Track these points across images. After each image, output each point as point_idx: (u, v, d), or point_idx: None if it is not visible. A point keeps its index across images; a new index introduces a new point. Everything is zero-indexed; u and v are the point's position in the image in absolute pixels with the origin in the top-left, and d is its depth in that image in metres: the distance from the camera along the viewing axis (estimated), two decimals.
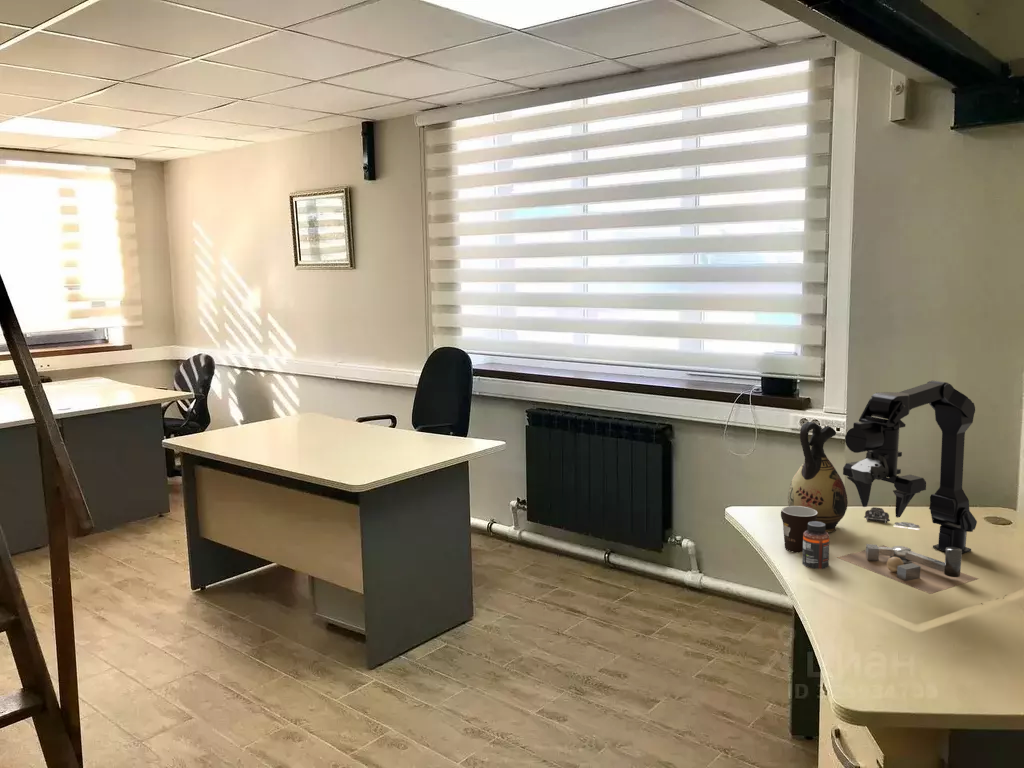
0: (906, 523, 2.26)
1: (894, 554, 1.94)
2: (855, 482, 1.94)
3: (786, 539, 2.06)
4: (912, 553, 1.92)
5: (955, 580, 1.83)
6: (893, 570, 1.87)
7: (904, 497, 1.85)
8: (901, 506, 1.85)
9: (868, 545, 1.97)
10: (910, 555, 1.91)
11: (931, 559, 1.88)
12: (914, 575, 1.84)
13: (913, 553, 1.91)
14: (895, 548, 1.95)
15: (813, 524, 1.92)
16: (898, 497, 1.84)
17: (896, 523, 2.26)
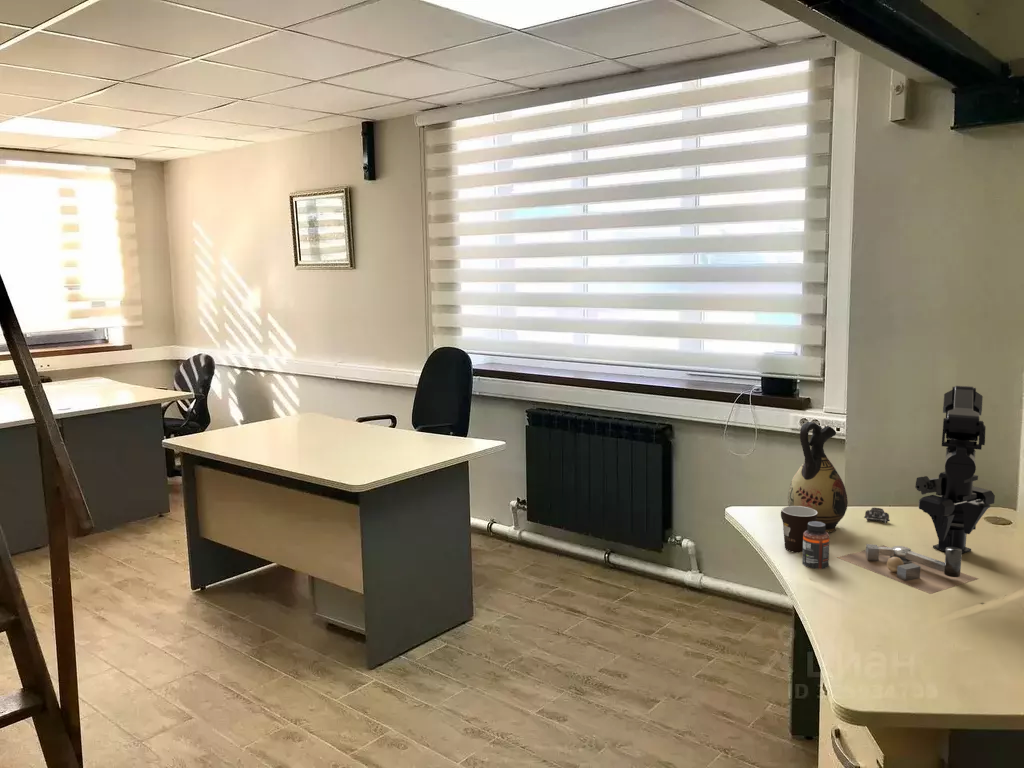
0: None
1: (894, 554, 1.94)
2: None
3: (786, 539, 2.06)
4: (912, 553, 1.92)
5: (955, 580, 1.83)
6: (893, 570, 1.87)
7: (940, 520, 1.78)
8: (936, 527, 1.79)
9: (868, 545, 1.97)
10: (910, 555, 1.91)
11: (931, 559, 1.88)
12: (914, 575, 1.84)
13: (913, 553, 1.91)
14: (895, 548, 1.95)
15: (813, 524, 1.92)
16: None
17: None
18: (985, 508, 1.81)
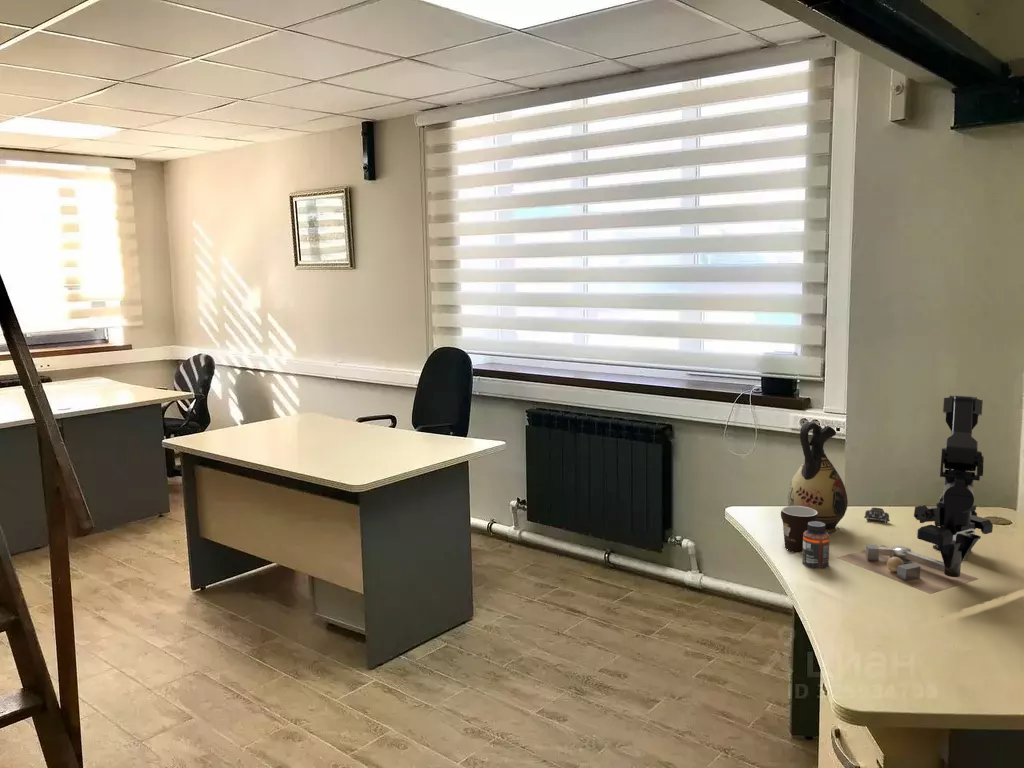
0: None
1: (894, 554, 1.94)
2: None
3: (786, 539, 2.06)
4: (912, 553, 1.92)
5: (955, 580, 1.83)
6: (893, 570, 1.87)
7: (946, 547, 1.81)
8: (943, 555, 1.82)
9: (868, 545, 1.97)
10: (910, 555, 1.91)
11: (931, 559, 1.88)
12: (914, 575, 1.84)
13: (913, 553, 1.91)
14: (895, 548, 1.95)
15: (813, 524, 1.92)
16: None
17: None
18: (975, 539, 1.81)
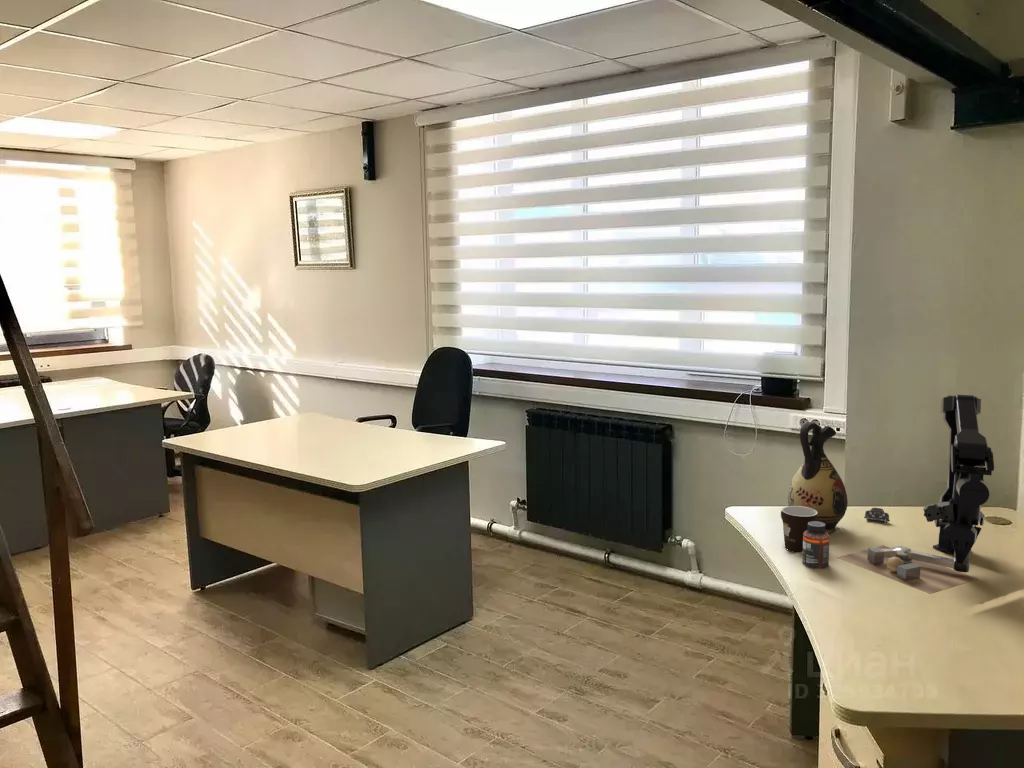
0: None
1: (897, 555, 1.93)
2: None
3: (786, 539, 2.06)
4: (915, 552, 1.92)
5: (955, 580, 1.83)
6: (893, 570, 1.87)
7: (962, 544, 1.83)
8: (957, 551, 1.83)
9: (871, 549, 1.94)
10: (914, 554, 1.92)
11: (936, 556, 1.89)
12: (914, 575, 1.84)
13: (915, 552, 1.92)
14: (895, 548, 1.94)
15: (813, 524, 1.92)
16: None
17: None
18: None
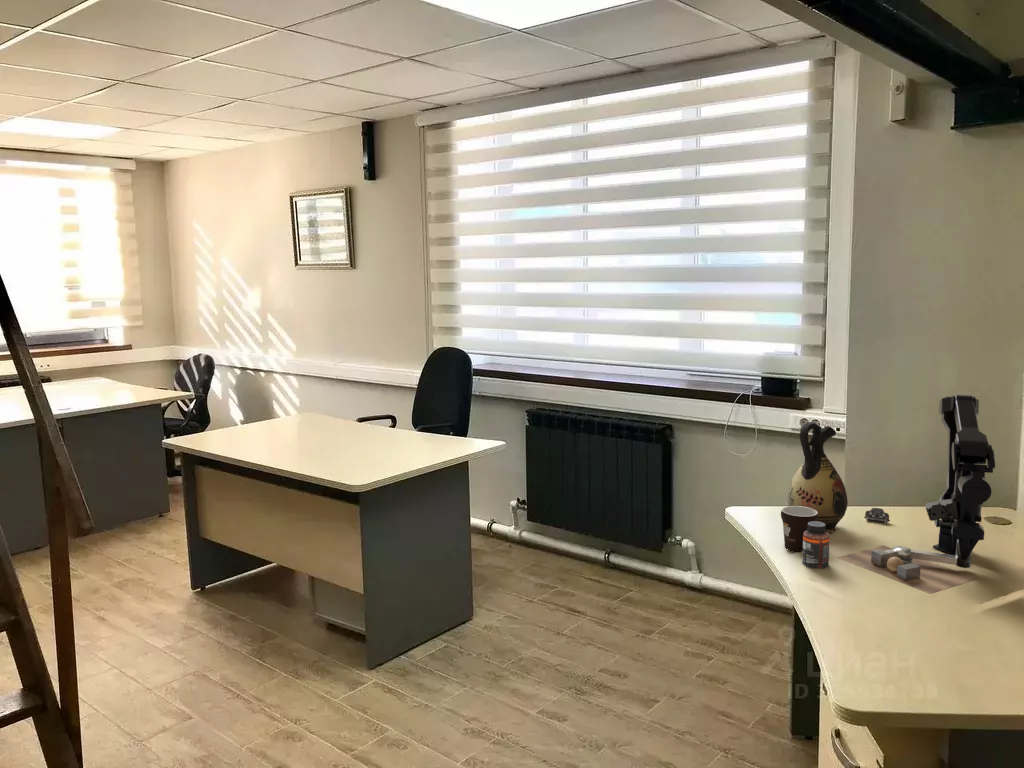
0: None
1: (899, 555, 1.93)
2: None
3: (786, 539, 2.06)
4: (915, 551, 1.93)
5: (955, 580, 1.83)
6: (893, 570, 1.87)
7: (966, 540, 1.85)
8: (962, 548, 1.86)
9: (875, 551, 1.92)
10: (915, 554, 1.92)
11: (937, 554, 1.91)
12: (914, 575, 1.84)
13: (916, 551, 1.93)
14: (896, 549, 1.94)
15: (813, 524, 1.92)
16: (957, 538, 1.86)
17: None
18: None
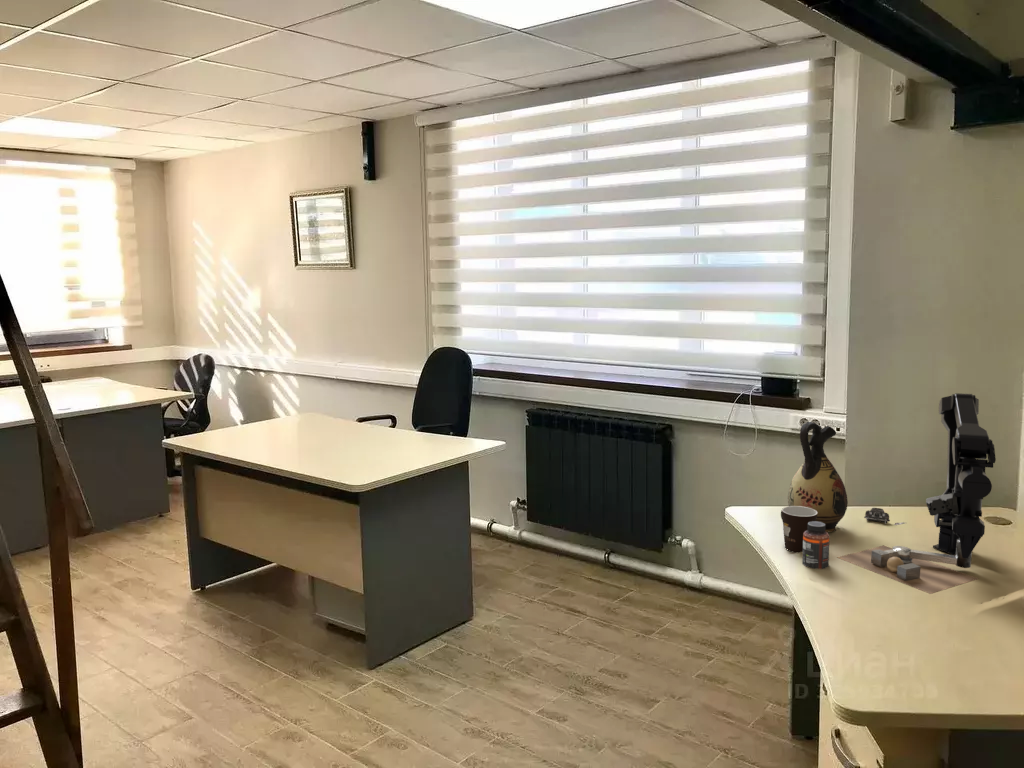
0: None
1: (899, 555, 1.93)
2: (953, 518, 1.93)
3: (786, 539, 2.06)
4: (915, 551, 1.93)
5: (955, 580, 1.83)
6: (893, 570, 1.87)
7: (968, 538, 1.82)
8: (963, 546, 1.83)
9: (875, 551, 1.92)
10: (915, 554, 1.92)
11: (937, 554, 1.91)
12: (914, 575, 1.84)
13: (916, 551, 1.93)
14: (896, 549, 1.94)
15: (813, 524, 1.92)
16: None
17: (896, 523, 2.26)
18: None
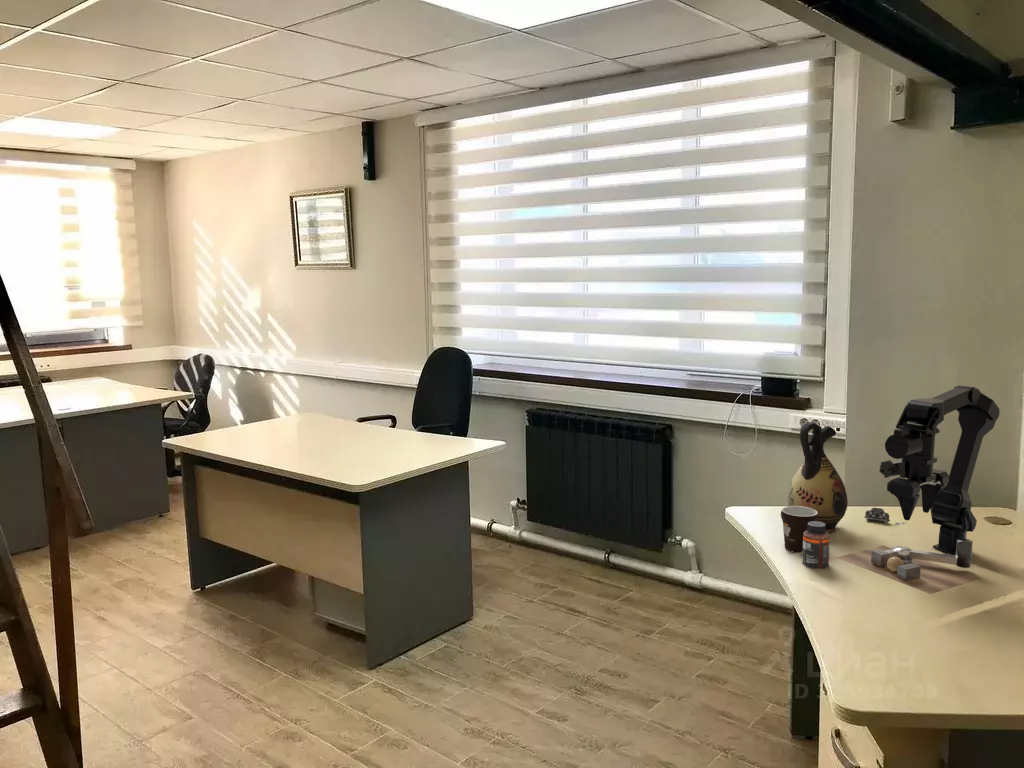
0: None
1: (899, 555, 1.93)
2: None
3: (786, 539, 2.06)
4: (915, 551, 1.93)
5: (955, 580, 1.83)
6: (893, 570, 1.87)
7: (906, 500, 1.90)
8: (902, 508, 1.91)
9: (875, 551, 1.92)
10: (915, 554, 1.92)
11: (937, 554, 1.91)
12: (914, 575, 1.84)
13: (916, 551, 1.93)
14: (896, 549, 1.94)
15: (813, 524, 1.92)
16: None
17: (896, 523, 2.26)
18: (942, 488, 1.95)
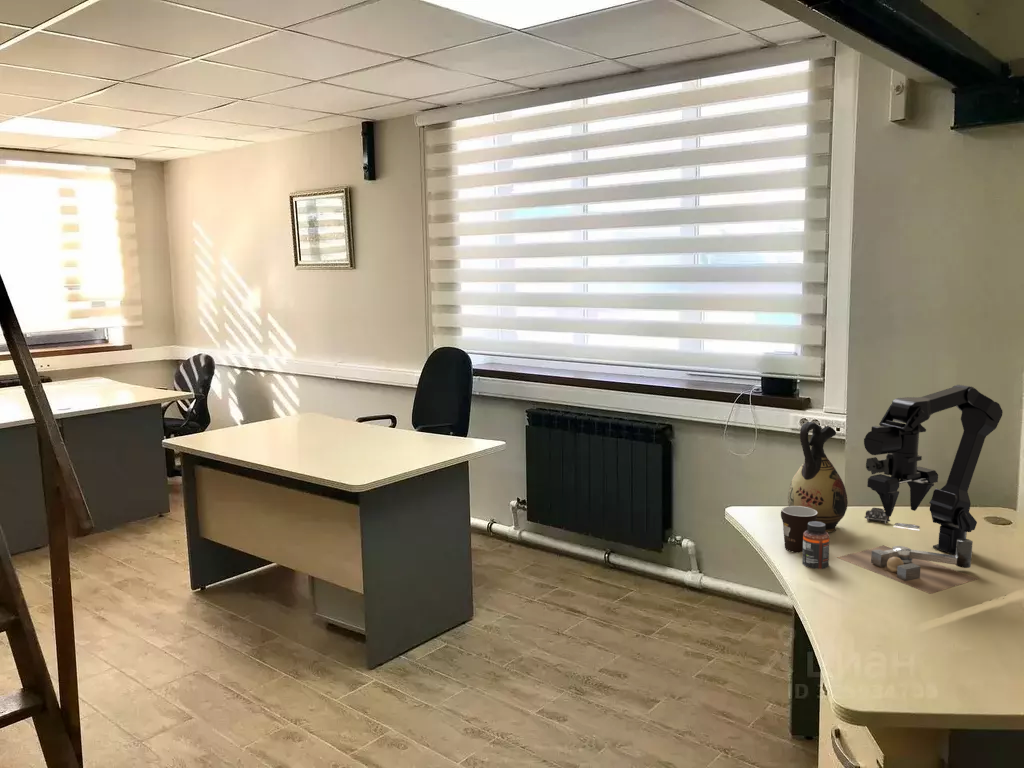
0: (907, 524, 2.26)
1: (899, 555, 1.93)
2: None
3: (786, 539, 2.06)
4: (915, 551, 1.93)
5: (955, 580, 1.83)
6: (893, 570, 1.87)
7: (887, 497, 1.94)
8: (884, 504, 1.95)
9: (875, 551, 1.92)
10: (915, 554, 1.92)
11: (937, 554, 1.91)
12: (914, 575, 1.84)
13: (916, 551, 1.93)
14: (896, 549, 1.94)
15: (813, 524, 1.92)
16: None
17: (896, 524, 2.26)
18: (929, 486, 1.96)
